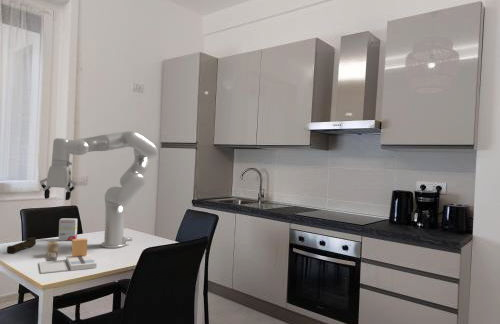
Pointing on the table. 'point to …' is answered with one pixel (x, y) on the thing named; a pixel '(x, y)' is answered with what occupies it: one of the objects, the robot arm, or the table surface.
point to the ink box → (67, 229)
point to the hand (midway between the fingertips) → (57, 199)
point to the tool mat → (53, 266)
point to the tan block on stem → (52, 250)
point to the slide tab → (79, 247)
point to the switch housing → (81, 262)
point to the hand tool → (21, 245)
